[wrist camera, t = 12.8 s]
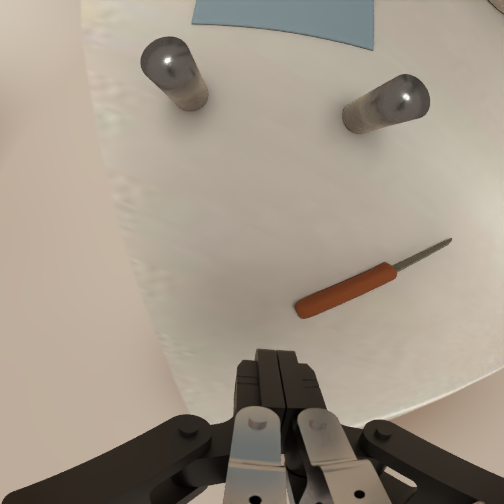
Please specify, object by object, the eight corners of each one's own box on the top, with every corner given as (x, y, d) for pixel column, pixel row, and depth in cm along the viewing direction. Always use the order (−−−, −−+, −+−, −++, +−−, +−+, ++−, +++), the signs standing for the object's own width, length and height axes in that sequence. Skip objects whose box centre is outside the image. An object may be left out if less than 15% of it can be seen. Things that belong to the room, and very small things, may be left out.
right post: (373, 106, 23) (430, 82, 14) (370, 136, 23) (429, 124, 15) (343, 99, 23) (391, 68, 14) (340, 130, 23) (389, 112, 15)
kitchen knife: (297, 313, 27) (301, 324, 25) (292, 300, 27) (295, 309, 25) (448, 242, 26) (459, 247, 24) (445, 229, 26) (457, 233, 24)
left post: (210, 81, 22) (193, 36, 13) (206, 112, 23) (185, 81, 14) (177, 79, 22) (145, 37, 13) (172, 110, 23) (136, 80, 14)
